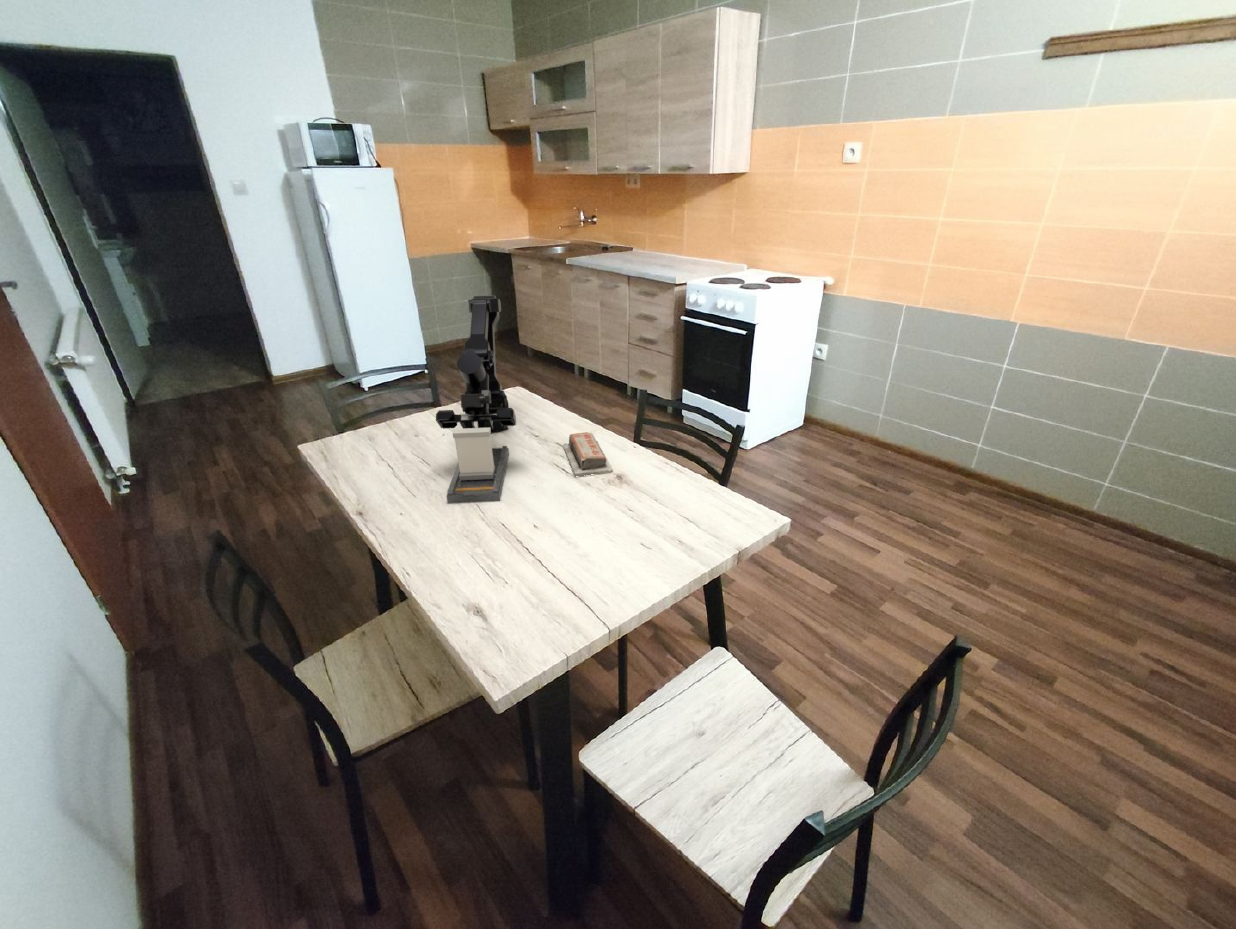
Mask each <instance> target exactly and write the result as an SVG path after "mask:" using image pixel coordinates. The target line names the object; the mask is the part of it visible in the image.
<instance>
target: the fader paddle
mask: <svg viewBox="0 0 1236 929" xmlns="http://www.w3.org/2000/svg"><path fill="white" fill-rule="evenodd" d="M491 434H492V433H491V429H490V428H478V427H475V428H465V429H463V428H453V431H452V437H453V439H454V444H455V445H454V446H455V451H456V456H457V464H458V463H459V469H460V475H459V479H460V480H480V479H493V478H494V474H495V470H496V468H495V465H494V461H493V453H492V448H493V447H492V446H493V445H492V439H491V438H492V437H491Z"/></svg>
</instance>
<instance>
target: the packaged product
mask: <svg viewBox="0 0 1236 929" xmlns="http://www.w3.org/2000/svg"><path fill="white" fill-rule="evenodd" d="M599 443H600V442H599V441H598V440H596V437H595V436H594V434H593V433H591V432H587V431H585V432H577V433H572V434H569V437H568V443H563V445H562V447H563V450H564V452H565V455H566V458H568V459H567V461H569V462H568V464H569V467H570V466H571V467H570V469H571V468H572V469H571V471H572V473H573V476H574V475H575V476H574V477H575V478H577V477H576V476H582V477H585V476H584V475H590V476H592V475H591V474H598V475H604V474H610V473H609V472H612V473H613V471H614V469H613V468H612V466H611V463H610V462H609V460H608V458H607V457H606V454H605V453H604V451H603V449H602V447H601V445H600V444H599Z"/></svg>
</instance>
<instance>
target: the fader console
mask: <svg viewBox="0 0 1236 929" xmlns="http://www.w3.org/2000/svg"><path fill="white" fill-rule="evenodd" d="M492 453H493V461H494V465H495V468H496V470H495V474H494V478H493V479H480V480H460V479H459V475H460V469H459V463H458V462H457V464H456V466H455V469H454V471H453V475H452V478H451V480H450V483H449V486H448V488H447V492H446V500H447V502H446V503H447V504H458V503H476V502H477V503H479V502H480V503H481V502H482V503H483V502H498V501H501V497H502V493H503V492H502V491H503V488H502V487H504V482H505V478H506V477H505V476H506V473H507V468H508V463H507V462H509V458H508V457H509V456H510V451H509V447H508V445H502V447H496V448H493V447H492ZM501 492H502V493H501Z"/></svg>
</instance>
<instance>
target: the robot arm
mask: <svg viewBox="0 0 1236 929" xmlns="http://www.w3.org/2000/svg"><path fill="white" fill-rule="evenodd" d="M468 312H469V313H471V319H470V320H471V321H470V333H469V338H468V339H467V340H466V341H465V342H464V345H463V349H462V350H463V351H460V352H461V353H460V355H459V357H458V359H457V361H456V366H457V369H458V372H459V373H460V375H461V377H462V379H463V381H464V382H465V386H464V387H465V389H464V390H465V391H464V394H460V407H461V410H462V412H463V413H460V414H456V413H455V412H454V410H453V409H442V410H440V409H439V410H438V411H437V412H436V413H435V421H436V423H437V424H438V426H439V427H440V429H444V430H447V429H456V427H457V426H458V423H459V424H460V426H461V427H462V428H461V429H465V428H476V427H475V423H476V422H477V428H490V429H491V434H492V433H496V432H500V431H501V432H502V431H505V430H508V429H509V427H514V426H517V417H516V414H515V410H514V409H513V408H512V407H510V406H509V400H508V396H507V394H506V392H505V390H503V386H502V384H501V383H500V382H499V379H498V378H497V366H496V365H497V364H496V343H495V342H496V341H495V327H496V326H497V324H498V322H499V321H500V312H502V304H501V300H500V298H497V297H496V295H495V294H494V295H474V296H473V298H471V299H468Z"/></svg>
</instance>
